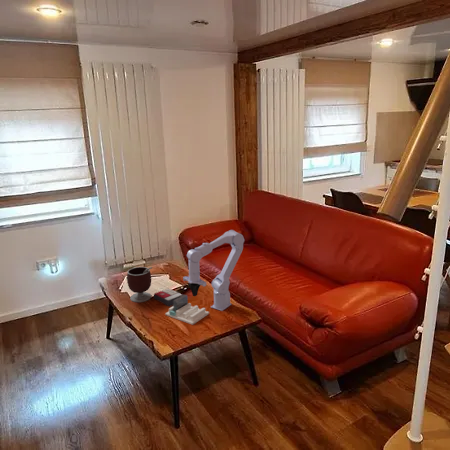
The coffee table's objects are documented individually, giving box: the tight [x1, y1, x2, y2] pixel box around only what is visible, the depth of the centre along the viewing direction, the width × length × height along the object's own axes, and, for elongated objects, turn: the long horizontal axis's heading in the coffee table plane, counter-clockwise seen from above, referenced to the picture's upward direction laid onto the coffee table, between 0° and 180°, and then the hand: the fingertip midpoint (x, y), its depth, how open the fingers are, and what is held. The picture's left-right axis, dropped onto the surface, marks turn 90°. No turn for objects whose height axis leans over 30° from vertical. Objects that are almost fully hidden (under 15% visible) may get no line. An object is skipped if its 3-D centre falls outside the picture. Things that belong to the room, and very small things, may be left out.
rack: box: [164, 302, 210, 326], centre depth 210 cm, size 14×19×4 cm
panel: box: [172, 294, 189, 313], centre depth 212 cm, size 9×2×7 cm, turn 145°
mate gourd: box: [126, 266, 153, 303], centre depth 228 cm, size 16×14×20 cm
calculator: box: [153, 288, 183, 307], centre depth 228 cm, size 11×4×15 cm
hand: (194, 295), depth 209 cm, fingers closed
